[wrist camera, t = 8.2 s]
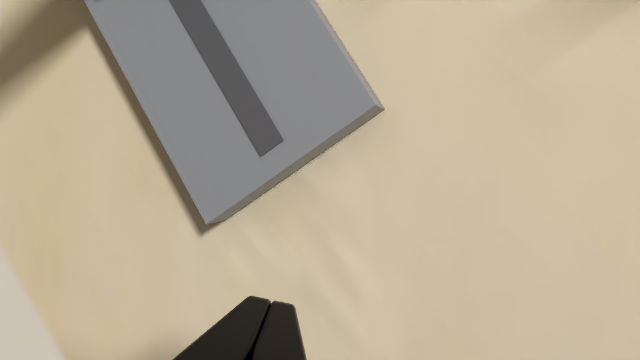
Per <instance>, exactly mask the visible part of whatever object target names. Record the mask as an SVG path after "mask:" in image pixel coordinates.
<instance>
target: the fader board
mask: <svg viewBox="0 0 640 360" xmlns="http://www.w3.org/2000/svg"><path fill="white" fill-rule="evenodd" d="M84 2H85V4H86V5H87V7H88V9H89V11H90V13H91V15H92V16H93V18H94V20H95V22H96V24H97V26H98V27H99V29H100V31H101V33H102V35H103V37H104V38H105V40H106V42H107V44H108V46H109V48H110V49H111V51H112V53H113V55H114V57H115V59H116V60H117V62H118V64H119V66H120V68H121V70H122V71H123V73H124V75H125V77H126V79H127V81H128V82H129V84H130V86H131V88H132V90H133V92H134V93H135V95H136V97H137V99H138V101H139V103H140V105H141V106H142V108H143V110H144V112H145V114H146V116H147V117H148V119H149V121H150V123H151V125H152V127H153V128H154V130H155V132H156V134H157V136H158V138H159V139H160V141H161V143H162V145H163V147H164V149H165V150H166V152H167V154H168V156H169V158H170V160H171V161H172V163H173V165H174V167H175V169H176V171H177V172H178V174H179V176H180V178H181V180H182V182H183V183H184V185H185V187H186V189H187V191H188V193H189V194H190V196H191V198H192V200H193V202H194V204H195V205H196V207H197V209H198V211H199V213H200V215H201V216H202V218H203V220H204V222H205V224H211V223H216V222H221V221H225V220H226V219H227V218H229V217H230V216H232V215H233V214H235V213H236V212H238V211H239V210H240V209H242V208H243V207H245V206H246V205H248V204H249V203H251V202H252V201H253V200H255V199H256V198H258V197H259V196H261V195H262V194H263V193H265V192H266V191H268V190H269V189H271V188H272V187H274V186H275V185H276V184H278V183H279V182H281V181H282V180H284V179H285V178H286V177H288V176H289V175H291V174H292V173H294V172H295V171H297V170H298V169H299V168H301V167H302V166H304V165H305V164H307V163H308V162H309V161H311V160H312V159H314V158H315V157H317V156H318V155H320V154H321V153H322V152H324V151H325V150H327V149H328V148H330V147H331V146H332V145H334V144H335V143H337V142H338V141H340V140H341V139H343V138H344V137H345V136H347V135H348V134H350V133H351V132H353V131H354V130H355V129H357V128H358V127H360V126H361V125H363V124H364V123H366V122H367V121H368V120H370V119H371V118H373V117H374V116H376V115H377V114H379V113H380V112H381V111H383V110H384V107H383V105H382V104H381V102H380V101H379V99H378V98H377V96H376V95H375V93H374V91H373V90H372V88H371V87H370V85H369V84H368V82H367V80H366V79H365V77H364V76H363V74H362V73H361V71H360V70H359V68H358V66H357V65H356V63H355V62H354V60H353V59H352V57H351V55H350V54H349V52H348V51H347V49H346V48H345V46H344V45H343V43H342V41H341V40H340V38H339V37H338V35H337V34H336V32H335V30H334V29H333V27H332V26H331V24H330V23H329V21H328V20H327V18H326V16H325V15H324V13H323V12H322V10H321V9H320V7H319V6H318V4H317V2H316V1H315V0H84Z"/></svg>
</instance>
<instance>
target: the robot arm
mask: <svg viewBox="0 0 640 360" xmlns="http://www.w3.org/2000/svg"><path fill="white" fill-rule="evenodd" d="M173 360H307V359H306V355H305V350H304V346H303V341H302V336H301V332H300V327H299V323H298V318H297V314H296V309H295V307H294V305H292V304H289V303H284V302H279V301H273V302H272V303H271V301H270V300H269V299H265V298H260V297H255V296H249V297H247V298H246V299H245V300H244V301H242V302H241V303H240V304H239V305H237V306H236V307H235V308H234V309H233V310H231V311H230V312H229V313H228V314H227V315H225V316H224V317H223V318H222V319H221V320H219V321H218V322H217V323H216V324H215V325H213V326H212V327H211V328H210V329H209V330H207V331H206V332H205V333H204V334H203V335H201V336H200V337H199V338H198V339H197V340H195V341H194V342H193V343H192V344H191V345H189V346H188V347H187V348H186V349H185V350H183V351H182V352H181V353H180V354H179V355H177V356H176V357H175V358H174V359H173Z"/></svg>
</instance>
